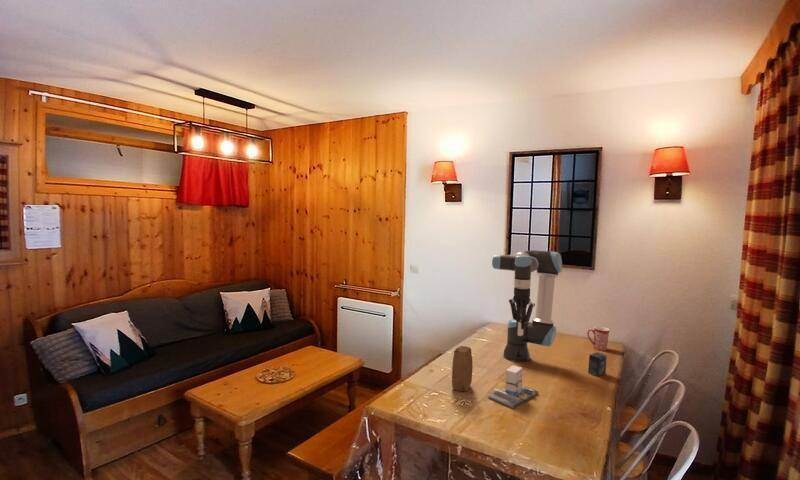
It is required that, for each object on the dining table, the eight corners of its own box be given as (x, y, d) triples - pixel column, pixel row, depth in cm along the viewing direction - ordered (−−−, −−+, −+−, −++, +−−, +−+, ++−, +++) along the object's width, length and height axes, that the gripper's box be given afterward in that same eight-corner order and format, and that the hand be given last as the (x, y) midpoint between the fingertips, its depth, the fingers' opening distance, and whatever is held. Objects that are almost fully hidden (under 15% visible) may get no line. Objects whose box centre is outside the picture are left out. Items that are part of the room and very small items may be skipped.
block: (464, 394, 183) (465, 352, 182) (449, 389, 187) (451, 348, 186) (473, 385, 192) (475, 346, 190) (460, 381, 196) (461, 343, 195)
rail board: (488, 397, 180) (488, 391, 179) (513, 384, 194) (514, 378, 194) (513, 408, 170) (513, 402, 170) (538, 393, 185) (538, 387, 185)
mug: (607, 347, 253) (609, 327, 252) (608, 352, 245) (610, 331, 244) (586, 344, 259) (587, 324, 258) (586, 348, 250) (587, 328, 249)
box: (598, 377, 206) (599, 357, 206) (587, 373, 211) (588, 354, 210) (605, 373, 211) (607, 354, 210) (595, 370, 216) (597, 351, 215)
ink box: (514, 398, 177) (516, 373, 177) (504, 394, 180) (505, 370, 180) (521, 391, 184) (523, 367, 183) (511, 388, 187) (512, 364, 186)
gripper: (506, 286, 190) (504, 333, 192) (530, 290, 180) (528, 340, 182) (514, 284, 195) (512, 330, 197) (538, 288, 185) (536, 336, 187)
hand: (520, 334), depth 190 cm, fingers closed
